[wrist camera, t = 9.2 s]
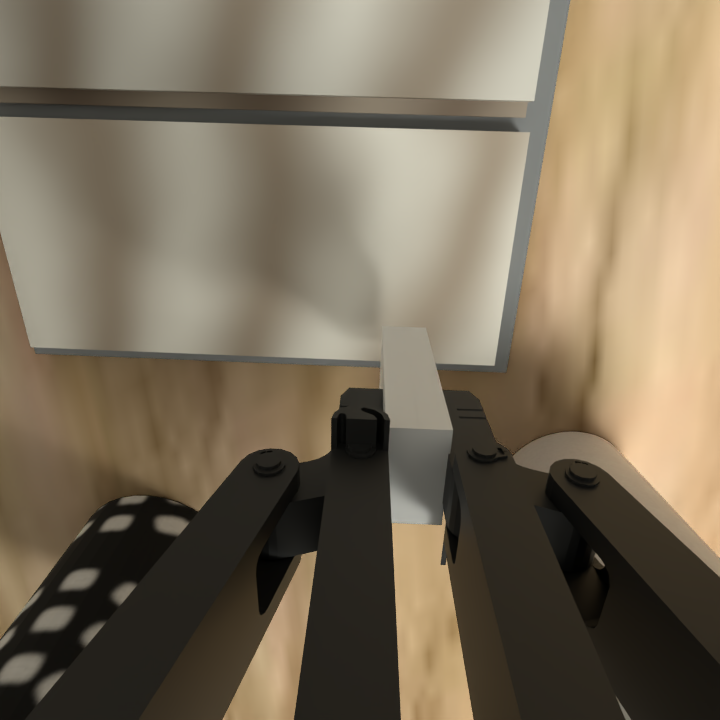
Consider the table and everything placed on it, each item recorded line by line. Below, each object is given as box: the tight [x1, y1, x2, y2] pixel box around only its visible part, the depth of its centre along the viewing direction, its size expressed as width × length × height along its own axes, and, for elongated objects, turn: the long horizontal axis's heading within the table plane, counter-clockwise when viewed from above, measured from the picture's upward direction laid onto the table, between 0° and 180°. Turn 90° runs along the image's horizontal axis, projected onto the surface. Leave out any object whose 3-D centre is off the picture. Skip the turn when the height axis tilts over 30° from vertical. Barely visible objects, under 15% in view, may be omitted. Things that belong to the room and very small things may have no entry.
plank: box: [0, 117, 530, 366], centre depth 20 cm, size 20×9×1 cm, turn 88°
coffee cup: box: [513, 432, 720, 720], centre depth 19 cm, size 10×10×15 cm
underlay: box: [0, 0, 570, 373], centre depth 19 cm, size 22×21×1 cm
